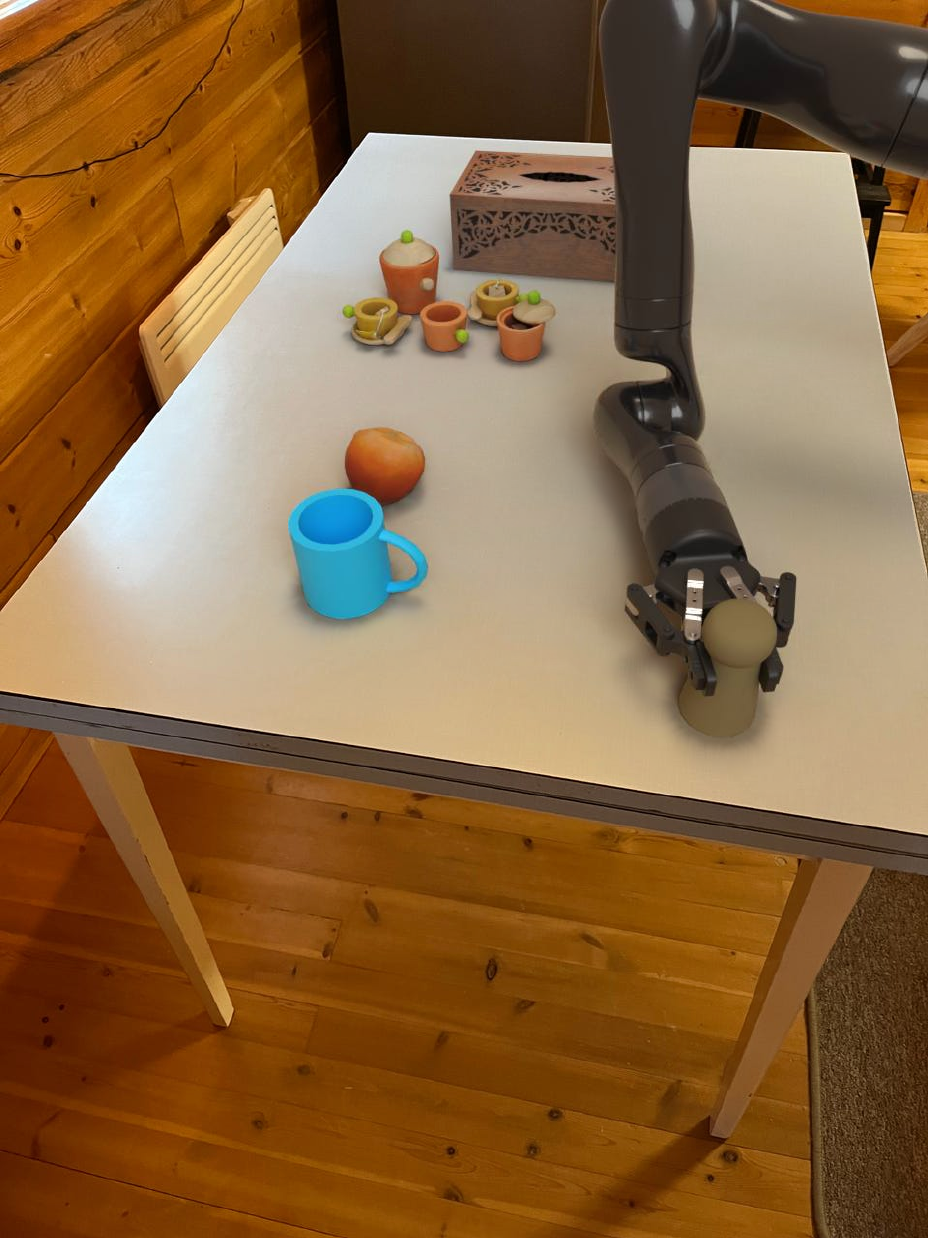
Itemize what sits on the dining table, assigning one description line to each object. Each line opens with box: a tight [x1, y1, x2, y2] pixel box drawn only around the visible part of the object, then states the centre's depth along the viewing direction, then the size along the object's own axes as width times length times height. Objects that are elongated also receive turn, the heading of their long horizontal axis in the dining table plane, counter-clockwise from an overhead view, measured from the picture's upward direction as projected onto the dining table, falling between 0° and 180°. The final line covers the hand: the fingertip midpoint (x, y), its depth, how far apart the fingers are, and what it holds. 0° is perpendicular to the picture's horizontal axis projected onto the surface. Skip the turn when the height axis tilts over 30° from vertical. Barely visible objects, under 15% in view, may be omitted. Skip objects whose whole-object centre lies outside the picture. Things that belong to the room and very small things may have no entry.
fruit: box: [344, 426, 426, 506], centre depth 92 cm, size 8×8×8 cm
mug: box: [287, 488, 429, 620], centre depth 82 cm, size 12×8×8 cm
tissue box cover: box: [449, 150, 616, 283], centre depth 124 cm, size 26×14×10 cm, turn 76°
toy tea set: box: [342, 229, 557, 362], centre depth 112 cm, size 26×16×10 cm, turn 72°
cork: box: [678, 598, 777, 739], centre depth 70 cm, size 6×6×11 cm
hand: (741, 686), depth 67 cm, fingers closed on cork, 4 cm apart
